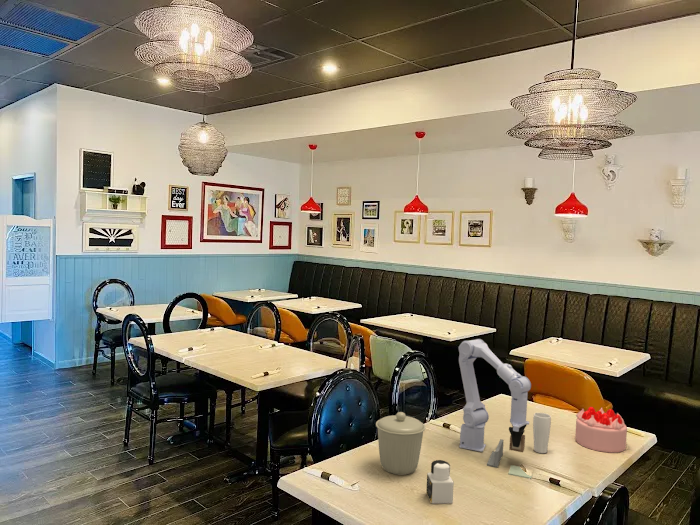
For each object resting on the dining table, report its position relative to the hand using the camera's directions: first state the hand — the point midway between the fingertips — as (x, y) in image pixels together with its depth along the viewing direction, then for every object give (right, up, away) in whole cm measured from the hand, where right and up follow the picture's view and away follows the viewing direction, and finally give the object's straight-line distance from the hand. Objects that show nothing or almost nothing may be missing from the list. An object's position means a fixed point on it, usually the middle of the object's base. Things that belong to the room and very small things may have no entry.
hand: (516, 444), depth 203 cm
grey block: (-7, -7, +3) cm, 11 cm away
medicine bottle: (-35, -8, -29) cm, 46 cm away
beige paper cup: (+14, -8, +14) cm, 21 cm away
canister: (-46, -7, -8) cm, 47 cm away
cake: (+43, -9, +25) cm, 50 cm away
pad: (-1, -8, -7) cm, 11 cm away
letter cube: (0, -2, 0) cm, 2 cm away
